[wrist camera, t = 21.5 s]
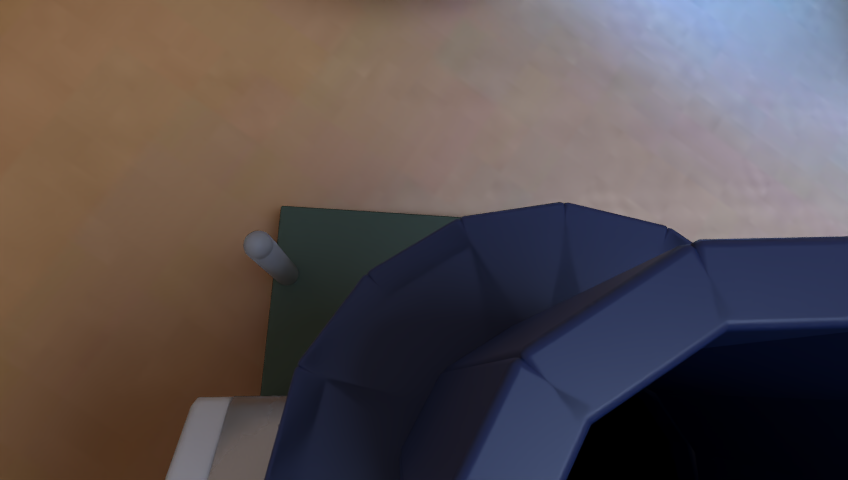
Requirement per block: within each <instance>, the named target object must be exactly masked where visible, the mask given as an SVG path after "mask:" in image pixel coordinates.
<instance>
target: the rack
mask: <svg viewBox="0 0 848 480" xmlns="http://www.w3.org/2000/svg"><path fill="white" fill-rule="evenodd" d="M460 218H462V217H449V216H433V215H418V214H402V213H386V212H370V211H354V210H339V209H323V208H307V207H291V206H282V207H281V212H280V221H279V230H278V240H277V243H276V242H275V241H274V240H273V239H272V237H271V236H270V235H269V234H268V233H266V232H264V231H253V232H251V233H250V234H248V235H247V236H246V238H245V240H244V244H243V247H244V250H245V252H246V254H247V255H248V256H249V257H250V258H251V259H252V260H254V261H255V262H256V263H257V264H258V265H259V266H260V267H262V268H263V269H264V270H265V271H266V272H267V273H268V274H270V275H271V276H272V277H273V285H272V295H271V304H270V313H269V322H268V331H267V340H266V350H265V359H264V368H263V377H262V386H261V395H260V396H287V395H288V391H289V387H290V384H291V380H292V377H293V373H294V370H295V368H296V367H297V366H298V362H299V360H300V359H301V357H302V356H303V355H304V353H305V352H306V351H307V349H308V348H309V347H310V345H311V344H312V343H313V341H314V340H315V339H316V337H317V336H318V335H319V333H320V332H321V331H322V329H323V328H324V327H325V325H326V324H327V323H328V322H329V320H330V319H331V318H332V316H333V315H334V314H335V312H336V311H337V310H338V308H339V307H340V306H341V304H342V303H343V302H344V300H345V299H346V298H347V296H348V295H349V294H350V292H351V291H352V290H353V288H354V287H355V286H356V284H357V283H358V282H359V281H360V279H361V278H362V277H363V276H364V275H368V274H367V273H368V272H369V270H371V269H372V268H374V267H376V266H378V265H379V264H381V263H383V262H384V261H386V260H388V259H389V258H391V257H393V256H394V255H396V254H398V253H399V252H401V251H403V250H404V249H406V248H408V247H409V246H411V245H413V244H415V243H416V242H418V241H420V240H421V239H423V238H425V237H426V236H428V235H430V234H431V233H433V232H435V231H436V230H438V229H440V228H441V227H443V226H445V225H446V224H448V223H450V222H452V221H453V220H455V219H460Z"/></svg>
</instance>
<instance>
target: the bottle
mask: <svg viewBox="0 0 848 480" xmlns="http://www.w3.org/2000/svg"><path fill="white" fill-rule="evenodd" d="M367 274H368V275H364V276H363V277H362V278H361V279H360V281H359V282H358V283H357V284H356V286H355V287H354V288H353V290H352V291H351V292H350V294H349V295H348V296H347V298H346V299H345V300H344V302H343V303H342V304H341V306H340V307H339V308H338V310H337V311H336V312H335V314H334V315H333V316H332V318H331V319H330V320H329V322H328V323H327V324H326V325H325V327H324V328H323V329H322V331H321V332H320V333H319V335H318V336H317V337H316V339H315V340H314V341H313V343H312V344H311V345H310V347H309V348H308V349H307V351H306V352H305V353H304V355H303V356H302V357H301V359H300V360H299V362H298V366H297V367H296V368H295V370H294V373H293V377H292V380H291V384H290V387H289V391H288V395H287V398H286V402H285V405H284V409H283V413H282V416H281V420H280V423H279V427H278V431H277V434H276V438H275V441H274V445H273V449H272V452H271V456H270V459H269V463H268V467H267V470H266V474H265V478H264V480H848V236H845V237H798V238H751V239H703V240H697V241H695V242H693V243H692V242H691V241H689V240H688V239H686V238H685V237H683V236H682V235H680V234H679V233H677V232H676V231H674V230H673V229H670V228H668V229H667V227H666V226H664V225H660V224H656V223H652V222H647V221H643V220H639V219H635V218H630V217H626V216H622V215H618V214H614V213H609V212H605V211H601V210H597V209H593V208H588V207H584V206H580V205H576V204H572V203H564V204H563V203H561V202H558V203H551V204H544V205H537V206H531V207H524V208H517V209H510V210H503V211H497V212H490V213H483V214H476V215H469V216H463V217H462V218H460V219H455V220H453V221H452V222H450V223H448V224H446V225H445V226H443V227H441V228H440V229H438V230H436V231H435V232H433V233H431V234H430V235H428V236H426V237H425V238H423V239H421V240H420V241H418V242H416V243H415V244H413V245H411V246H409V247H408V248H406V249H404V250H403V251H401V252H399V253H398V254H396V255H394V256H393V257H391V258H389V259H388V260H386V261H384V262H383V263H381V264H379V265H378V266H376V267H374V268H372V269H371V270H369V272H368V273H367Z"/></svg>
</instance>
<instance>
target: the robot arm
mask: <svg viewBox="0 0 848 480" xmlns="http://www.w3.org/2000/svg"><path fill="white" fill-rule="evenodd" d="M286 398H287V396H234V397H198V398H197V399H196V401H195V402H194V403H193V404H192V406H191V407H190V410H189V413H188V416H187V419H186V422H185V424H184V427H183V430H182V433H181V436H180V439H179V441H178V444H177V447H176V450H175V453H174V456H173V458H172V461H171V464H170V467H169V470H168V473H167V475H166V478H165V480H264V478H265V474H266V470H267V467H268V463H269V459H270V456H271V452H272V449H273V445H274V441H275V438H276V434H277V431H278V427H279V423H280V420H281V416H282V413H283V409H284V405H285V402H286Z"/></svg>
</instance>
